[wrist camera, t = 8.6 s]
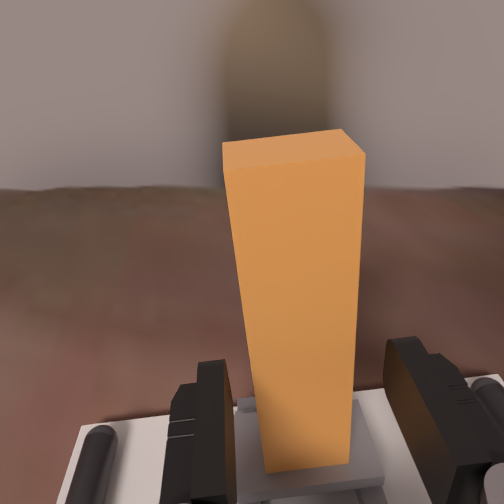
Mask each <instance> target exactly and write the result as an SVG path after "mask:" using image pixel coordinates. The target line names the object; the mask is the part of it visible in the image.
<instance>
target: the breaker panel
mask: <svg viewBox="0 0 504 504" xmlns="http://www.w3.org/2000/svg"><path fill="white" fill-rule="evenodd" d="M464 379H465V380H466V382H467V383H468V387H470V388H471V389H472V391H473V392H474V394H475V396H476V397H477V400H478V402H480V403H481V405H482V406H483V408H484V409H485V411H486V412H487V414H488V415H489V417H490V418H491V420H492V421H493V423H494V424H495V426H496V427H497V429H498V430H499V432H500V433H501V435H502V436H503V438H504V382H503V380H502V379H501V378H500V376H499V375H498V374H494V375H486V376H478V377H470V378H464ZM355 399H358V401H359V404H360V406H361V409H362V412H363V415H364V418H365V421H366V423H367V426H368V429H369V432H370V435H371V437H372V440H373V443H374V446H375V449H376V452H377V454H378V457H379V460H380V463H381V466H382V469H383V471H384V474H385V481H384V485H383V486H375V487H368V488H360V489H352V490H344V491H336V492H328V493H320V494H312V495H305V496H297V497H289V498H281V499H273V500H265V501H257V502H249V503H241V504H432V503H431V500H430V498H429V496H428V493H427V491H426V489H425V486H424V484H423V482H422V479H421V477H420V475H419V472H418V470H417V468H416V465H415V463H414V461H413V458H412V456H411V454H410V451H409V449H408V447H407V444H406V442H405V440H404V437H403V435H402V433H401V430H400V428H399V426H398V423H397V421H396V419H395V416H394V414H393V412H392V409H391V407H390V405H389V402H388V400H387V397H386V394H385V390H384V388H381V389H373V390H365V391H357V392H353V397H352V400H355ZM233 410H234V415H235V414H243V413H251V412H257V407H256V400H255V397H247V398H239V399H237V406H236V407H233ZM169 416H170V415H164V416H156V417H148V418H140V419H132V420H124V421H116V422H108V423H100V424H91V425H83V426H81V429H80V432H79V435H78V438H77V441H76V444H75V447H74V450H73V454H72V457H71V460H70V463H69V466H68V469H67V472H66V475H65V478H64V481H63V484H62V488H61V491H60V494H59V497H58V500H57V503H56V504H159V500H160V493H161V484H162V476H163V467H164V459H165V450H166V442H167V433H168V425H169ZM237 504H238V502H237Z"/></svg>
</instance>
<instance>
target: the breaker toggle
mask: <svg viewBox="0 0 504 504" xmlns="http://www.w3.org/2000/svg"><path fill="white" fill-rule="evenodd" d="M222 144H223V171H224V179H225V185H226V193H227V200H228V207H229V214H230V222H231V229H232V236H233V243H234V250H235V257H236V264H237V271H238V279H239V286H240V293H241V300H242V307H243V314H244V321H245V329H246V336H247V343H248V350H249V357H250V364H251V371H252V378H253V386H254V393H255V400H256V407H257V412H251V413H243V414H235V415H234V430H235V456H236V482H237V502H238V504H241V503H249V502H257V501H265V500H273V499H281V498H289V497H297V496H305V495H312V494H320V493H328V492H336V491H344V490H352V489H360V488H368V487H375V486H383V485H384V481H385V474H384V471H383V469H382V466H381V463H380V460H379V457H378V454H377V452H376V449H375V446H374V443H373V440H372V437H371V435H370V432H369V429H368V426H367V423H366V421H365V418H364V415H363V412H362V409H361V406H360V404H359V401H358V399H355V400H352V397H353V379H354V360H355V341H356V323H357V304H358V286H359V267H360V249H361V230H362V212H363V193H364V174H365V155H366V154H365V153H364V152H363V151H362V150H361V149H360V148H359V147H358V146H357V145H356V144H355V143H354V142H353V141H352V140H351V139H350V138H349V137H348V136H347V135H346V134H345V133H344V132H343V130H342V129H336V130H328V131H319V132H310V133H301V134H293V135H284V136H276V137H267V138H259V139H250V140H242V141H233V142H225V143H222Z"/></svg>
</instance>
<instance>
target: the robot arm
mask: <svg viewBox="0 0 504 504" xmlns="http://www.w3.org/2000/svg"><path fill="white" fill-rule="evenodd" d="M383 385H384V390H385V394H386V397H387V400H388V402H389V405H390V407H391V409H392V412H393V414H394V416H395V419H396V421H397V423H398V426H399V428H400V430H401V433H402V435H403V437H404V440H405V442H406V444H407V447H408V449H409V451H410V454H411V456H412V458H413V461H414V463H415V465H416V468H417V470H418V472H419V475H420V477H421V479H422V482H423V484H424V486H425V489H426V491H427V493H428V496H429V498H430V500H431V503H432V504H504V438H503V436H502V435H501V433H500V432H499V430H498V429H497V427H496V426H495V424H494V423H493V421H492V420H491V418H490V417H489V415H488V414H487V412H486V411H485V409H484V408H483V406H482V405H481V403H480V402H478V400H477V397H476V396H475V394H474V392H473V391H472V389H471V388H470V387H468V383H467V382H466V380H465V379H464V377H463V376H462V374H461V373H460V371H459V370H458V368H457V367H456V366H455V365H454V364H452V363H451V362H450V361H449V360H447V359H446V358H445V357H444V356H442V355H441V354H440V353H438V354H430V355H429V354H428V353H427V351H426V350H425V348H424V346H423V345H422V343H421V341H420V340H419V339H418V338H417V337H416V336H413V337H405V338H397V339H389V340H388V341H387V344H386V352H385V361H384V370H383ZM159 504H237V482H236V456H235V430H234V410H233V400H232V394H231V388H230V383H229V377H228V372H227V367H226V362H225V359H222V360H214V361H206V362H199V363H198V369H197V383H190V384H182V385H180V387H179V389H178V391H177V392H176V394H175V396H174V398H173V399H172V401H171V408H170V416H169V425H168V433H167V442H166V450H165V459H164V467H163V476H162V484H161V493H160V500H159Z"/></svg>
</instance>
